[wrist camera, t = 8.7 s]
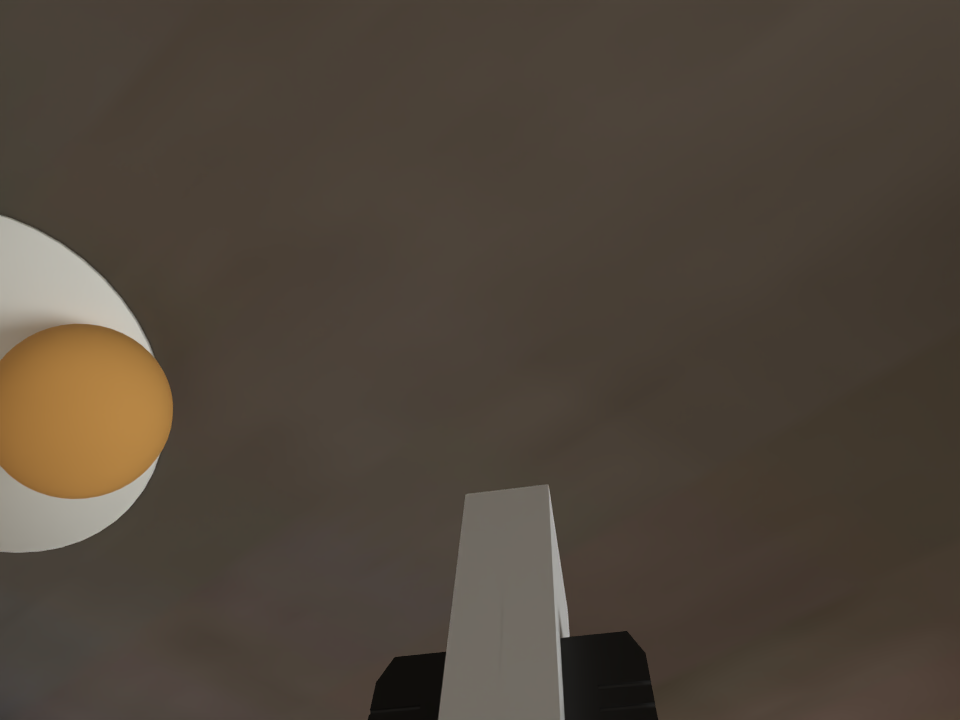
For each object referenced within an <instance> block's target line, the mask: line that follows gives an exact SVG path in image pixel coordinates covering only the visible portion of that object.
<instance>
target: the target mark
mask: <svg viewBox="0 0 960 720" xmlns="http://www.w3.org/2000/svg"><path fill="white" fill-rule="evenodd" d="M67 324H91V325H98V326H103V327H107V328H110V329H113V330H116V331H118V332H121V333H123V334H125V335H127V336H129V337H130V338H132V339H134V340H135V341H137V342H138V343H139V344H141V345H142V346H143V347H144V348H145V349H146V350H147V351H149V352H150V353H151V355H152V356H153V357H154V354H153V352H152V349H151V346H150V344H149V341H148V340H147V338H146V336H145V334H144V332H143V330H142V328H141V326H140V324H139V323H138V321H137V319H136V318H135V316H134V315H133V313H132V312H131V310H130V309H129V307H128V306H127V305H126V303H125V302H124V300H123V299H122V298H121V296H120V295H119V294H118V293H117V292H116V291H115V290H114V288H113V287H112V286H111V285H110V284H109V283H108V282H107V280H106V279H105V278H104V277H103V276H102V275H101V274H100V273H98V272H97V271H96V270H95V269H94V268H93V267H92V266H91V265H90V264H89V263H88V262H86V261H85V260H84V259H83V258H82V257H80V256H79V255H78V254H76V253H75V252H73V251H72V250H71V249H69V248H68V247H67V246H65V245H64V244H62V243H61V242H59V241H58V240H56V239H54V238H52V237H51V236H49V235H47V234H45V233H44V232H42V231H40V230H38V229H36V228H34V227H32V226H29V225H27V224H25V223H23V222H20V221H18V220H16V219H13V218H11V217H7V216H4V215H1V214H0V360H1V359H2V358H3V357H4V356H5V355H6V353H8V352H9V351H10V350H11V349H12V348H13V347H14V346H16V345H17V344H18V343H20V342H21V341H23V340H24V339H26V338H27V337H29V336H31V335H33V334H35V333H37V332H40V331H42V330H45V329H48V328H51V327H56V326H60V325H67ZM154 358H155V357H154ZM159 456H160V454H159ZM159 456H158V457H157V459H156V460H155V461H154V462H153V464H152V465H151V466H150V467H149V468H148V469H147V470H146V471H145V472H144V473H143V474H142V475H141V476H140V477H138V478H137V479H136V480H134V481H133V482H132V483H130V484H128V485H126V486H125V487H123V488H121V489H119V490H116V491H114V492H111V493H109V494H105V495H102V496H98V497H92V498H86V499H65V498H57V497H52V496H48V495H45V494H42V493H39V492H36V491H34V490H32V489H30V488H27V487H26V486H24V485H22V484H21V483H19V482H18V481H16V480H15V479H14V478H12V477H11V476H10V475H9V474H8V473H7V472H6V471H5V470H4V469H3V468H2V467H1V466H0V552H16V553H20V552H37V551H44V550H50V549H55V548H61V547H64V546H67V545H70V544H73V543H76V542H79V541H82V540H84V539H86V538H88V537H90V536H92V535H94V534H96V533H98V532H100V531H101V530H103V529H104V528H106V527H107V526H109V525H110V524H112V523H113V522H115V521H116V520H117V519H118V518H119V517H120V516H121V515H122V514H123V513H125V512H126V511H127V510H128V509H129V508H130V507H131V505H132V504H133V503H134V502H135V500H136V499H137V498H138V497H139V495H140V494H141V493H142V491H143V490H144V489H145V487H146V485H147V483H148V481H149V480H150V478H151V476H152V474H153V472H154V470H155V467H156V464H157V462H158V459H159Z"/></svg>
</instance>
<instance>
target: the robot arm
mask: <svg viewBox="0 0 960 720" xmlns="http://www.w3.org/2000/svg"><path fill="white" fill-rule="evenodd" d="M370 711H371V714H370V715H369V717H368V720H658V717H657V712H656V708H655V701H654V696H653V691H652V685H651V680H650V675H649V670H648V664H647V659H646V654H645V652H644V651H643V650H642V648H641V647H640V646H639V645H638V644H637V643H636V641H635V640H634V639H633V638H632V637H631V635H630V634H629V633H628V632H627V631H623V632H614V633H604V634H594V635H584V636H574V637H570V636H569V622H568V610H567V603H566V596H565V590H564V583H563V577H562V570H561V564H560V557H559V551H558V544H557V537H556V531H555V524H554V518H553V511H552V505H551V498H550V492H549V485H548V484H547V485H538V486H530V487H522V488H513V489H505V490H497V491H488V492H480V493H472V494H466V495H465V503H464V512H463V520H462V528H461V536H460V544H459V553H458V561H457V569H456V577H455V585H454V594H453V602H452V610H451V618H450V626H449V634H448V643H447V651H446V652H440V653H430V654H421V655H411V656H401V657H395V658H394V659H393V660H392V662H391V663H390V664H389V666H388V667H387V668H386V670H385V671H384V672H383V674H382V675H381V677H380V678H379V679H378V681H377V682H376V686H375V690H374V695H373V699H372V704H371V708H370Z"/></svg>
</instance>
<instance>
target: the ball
mask: <svg viewBox="0 0 960 720" xmlns="http://www.w3.org/2000/svg"><path fill="white" fill-rule="evenodd" d="M172 418H173V401H172V393H171V390H170V386H169V383H168V381H167V378H166V376H165V374H164V372H163V370H162V368H161V367H160V365H159V364H158V362H157V361H156V359H155V358H154V357H153V356H152V355H151V353H150V352H149V351H147V350H146V349H145V348H144V347H143V346H142V345H141V344H139V343H138V342H137V341H135V340H134V339H132V338H130V337H129V336H127V335H125V334H123V333H121V332H118V331H116V330H113V329H110V328H107V327H103V326H98V325H91V324H67V325H60V326H56V327H51V328H48V329H45V330H42V331H40V332H37V333H35V334H33V335H31V336H29V337H27V338H26V339H24V340H23V341H21V342H20V343H18V344H17V345H16V346H14V347H13V348H12V349H11V350H10V351H9V352H8V353H6V355H5V356H4V357H3V358H2V359H1V360H0V466H1V467H2V468H3V469H4V470H5V471H6V472H7V473H8V474H9V475H10V476H11V477H12V478H14V479H15V480H16V481H18V482H19V483H21V484H22V485H24V486H26V487H27V488H30V489H32V490H34V491H36V492H39V493H42V494H45V495H48V496H52V497H57V498H65V499H86V498H92V497H98V496H102V495H105V494H109V493H111V492H114V491H116V490H119V489H121V488H123V487H125V486H126V485H128V484H130V483H132V482H133V481H134V480H136V479H137V478H138V477H140V476H141V475H142V474H143V473H144V472H145V471H146V470H147V469H148V468H149V467H150V466H151V465H152V464H153V462H154V461H155V460H156V459H157V457H158V456H159V454H160V453H161V451H162V450H163V448H164V446H165V443H166V441H167V439H168V436H169V433H170V429H171V424H172Z"/></svg>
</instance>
